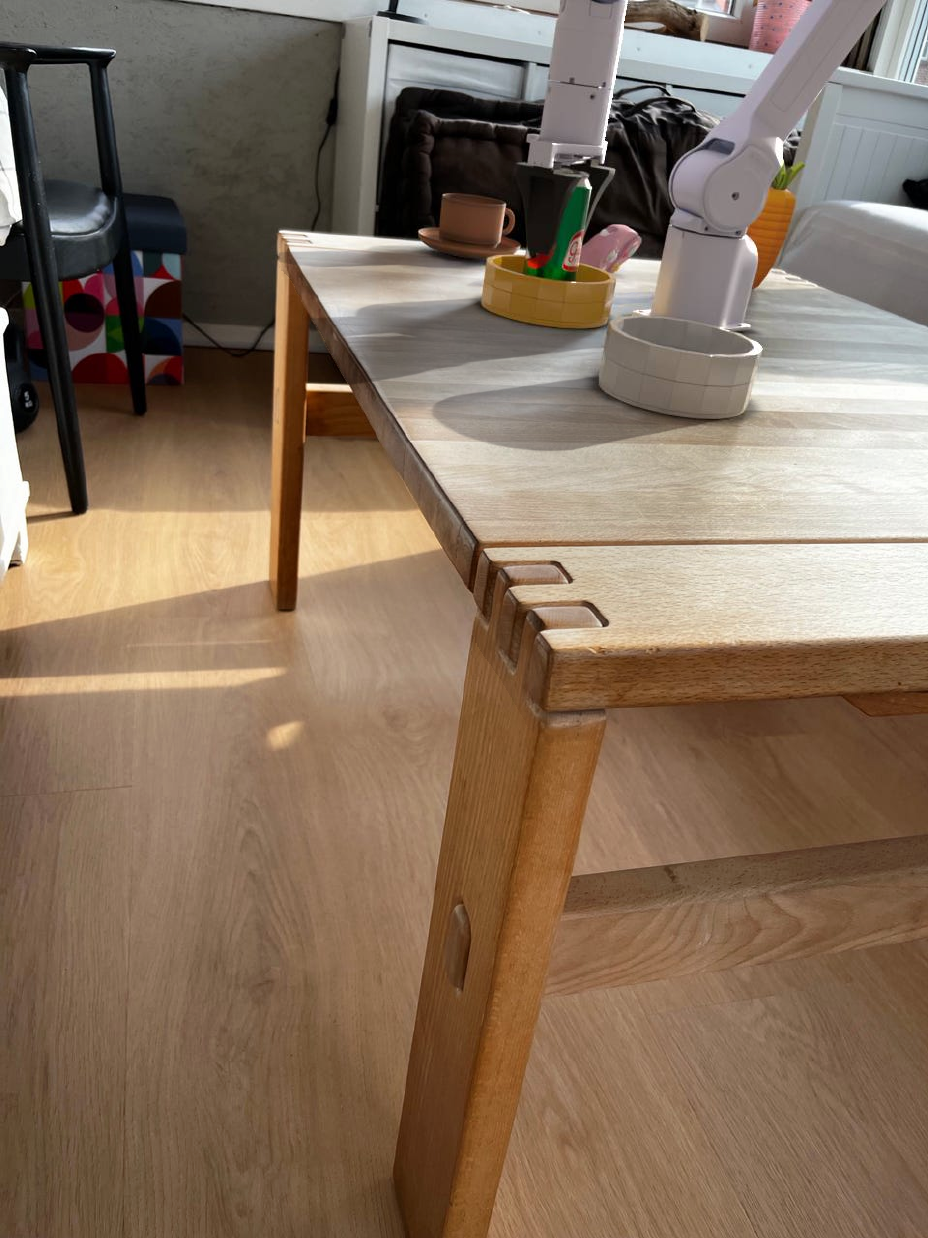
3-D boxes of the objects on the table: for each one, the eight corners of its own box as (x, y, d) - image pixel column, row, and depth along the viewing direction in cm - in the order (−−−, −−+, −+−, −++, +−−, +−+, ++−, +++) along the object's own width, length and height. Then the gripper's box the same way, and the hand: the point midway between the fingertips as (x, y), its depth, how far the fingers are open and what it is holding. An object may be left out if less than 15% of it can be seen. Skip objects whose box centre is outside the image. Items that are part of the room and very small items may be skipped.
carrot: (778, 291, 125) (813, 157, 118) (765, 295, 121) (801, 157, 114) (739, 282, 127) (771, 151, 120) (726, 286, 123) (758, 150, 116)
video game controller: (584, 294, 116) (620, 241, 111) (555, 268, 116) (590, 215, 112) (620, 285, 123) (655, 236, 119) (592, 260, 124) (626, 211, 120)
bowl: (542, 293, 105) (548, 253, 104) (633, 323, 98) (641, 280, 96) (454, 299, 98) (460, 255, 96) (546, 332, 90) (554, 286, 88)
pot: (658, 366, 85) (670, 311, 82) (774, 408, 78) (790, 349, 76) (568, 380, 77) (578, 320, 75) (686, 426, 71) (702, 362, 69)
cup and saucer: (456, 241, 127) (462, 188, 124) (537, 261, 122) (545, 206, 119) (395, 247, 118) (400, 190, 115) (479, 269, 113) (487, 210, 110)
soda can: (567, 315, 95) (591, 176, 89) (514, 306, 96) (534, 167, 90) (573, 305, 100) (596, 172, 94) (522, 296, 100) (542, 164, 94)
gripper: (566, 81, 96) (543, 234, 102) (505, 75, 84) (483, 247, 91) (638, 92, 94) (609, 247, 100) (585, 87, 82) (557, 263, 88)
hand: (554, 248), depth 95 cm, fingers open, 7 cm apart
